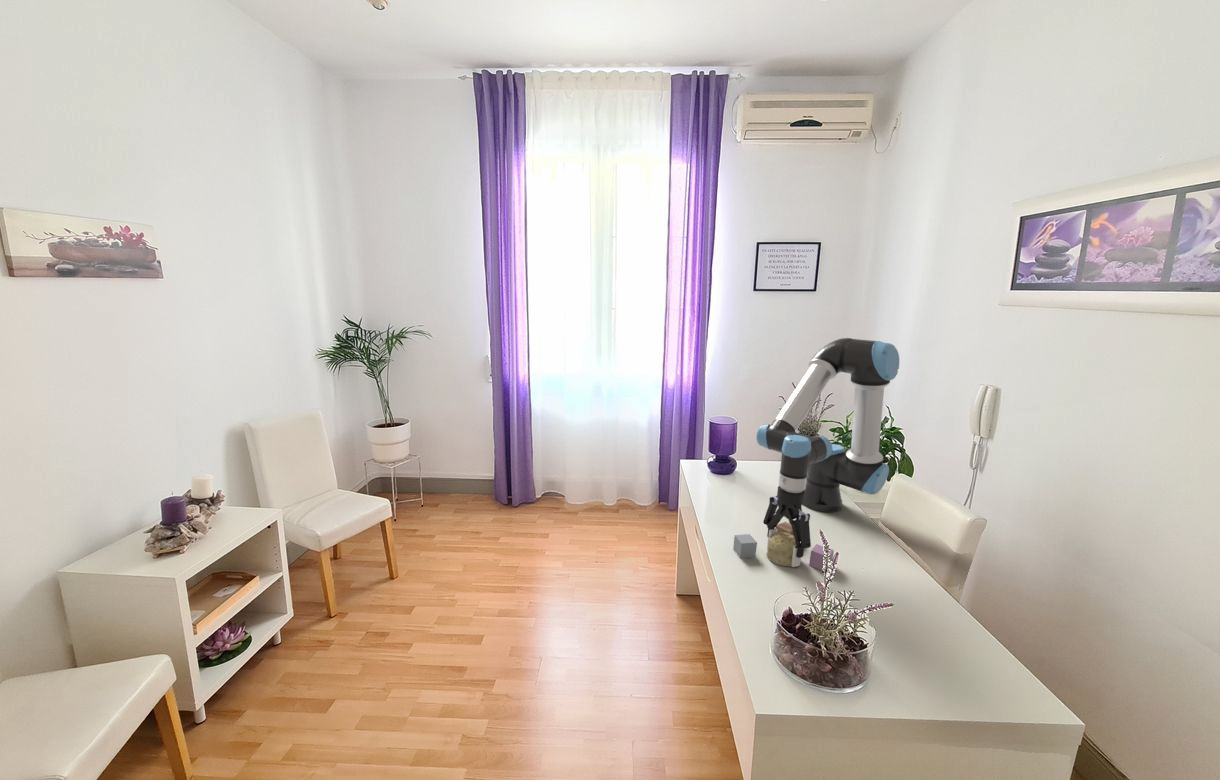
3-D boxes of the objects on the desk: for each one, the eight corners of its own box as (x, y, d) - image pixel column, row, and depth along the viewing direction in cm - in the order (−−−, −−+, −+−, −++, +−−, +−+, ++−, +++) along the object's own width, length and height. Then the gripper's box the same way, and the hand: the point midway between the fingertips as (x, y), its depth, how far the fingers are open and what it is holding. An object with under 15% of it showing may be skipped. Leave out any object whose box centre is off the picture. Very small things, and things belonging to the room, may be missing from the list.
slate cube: (748, 548, 155) (749, 534, 154) (755, 557, 150) (757, 542, 149) (733, 549, 154) (734, 535, 153) (740, 558, 149) (741, 543, 148)
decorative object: (790, 579, 145) (812, 554, 144) (762, 558, 146) (784, 533, 144) (783, 564, 154) (804, 541, 153) (757, 545, 155) (778, 521, 153)
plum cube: (814, 558, 150) (816, 543, 149) (831, 565, 147) (833, 550, 146) (809, 565, 147) (811, 550, 146) (826, 572, 144) (828, 556, 143)
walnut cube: (783, 535, 164) (785, 521, 163) (797, 541, 160) (798, 527, 159) (774, 539, 161) (776, 525, 160) (787, 546, 157) (789, 531, 156)
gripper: (755, 475, 153) (748, 541, 158) (811, 505, 133) (801, 579, 138) (774, 472, 156) (766, 537, 161) (831, 501, 137) (821, 573, 142)
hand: (783, 556), depth 150 cm, fingers closed on decorative object, 9 cm apart
